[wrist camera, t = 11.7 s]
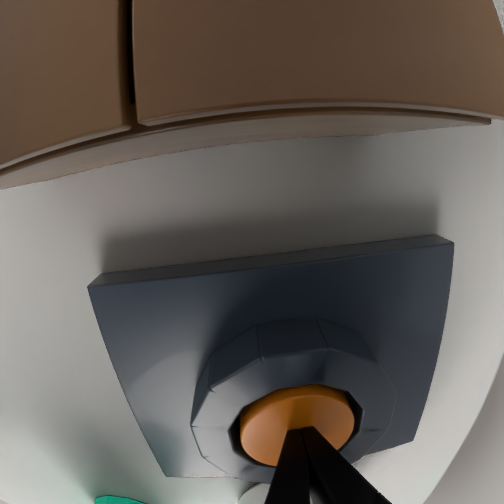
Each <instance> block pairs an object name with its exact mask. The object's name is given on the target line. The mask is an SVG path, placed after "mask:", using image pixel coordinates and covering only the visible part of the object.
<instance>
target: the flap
mask: <svg viewBox="0 0 504 504" xmlns="http://www.w3.org/2000/svg"><path fill="white" fill-rule="evenodd" d="M132 50H133V72H134V88H135V101H136V113H137V121H138V123H140V124H143V125H146V126H153V125H158V124H163V123H169V122H174V121H180V120H186V119H192V118H199V117H206V116H213V115H221V114H229V113H237V112H247V111H257V110H269V109H283V108H301V107H333V106H360V107H392V108H409V109H422V110H433V111H443V112H452V113H460V114H467V115H474V116H481V117H487V118H493V119H498V120H504V34H503V31H502V28H501V24H500V21H499V18H498V15H497V12H496V9H495V6H494V3H493V0H132Z"/></svg>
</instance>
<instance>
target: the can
mask: <svg viewBox="0 0 504 504" xmlns="http://www.w3.org/2000/svg"><path fill="white" fill-rule="evenodd" d="M269 487H270V484H264V483H258V484H256V485H254V486H253V487H251V488H250V489H249V490H248V491H247V492H246V493H245V494H243V495H242V496H241V498H240V499H239V502H238V504H264V502H265V500H266V497H267V494H268V491H269ZM310 504H313V502H312V499H311V496H310Z"/></svg>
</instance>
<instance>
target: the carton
mask: <svg viewBox="0 0 504 504" xmlns="http://www.w3.org/2000/svg"><path fill="white" fill-rule="evenodd" d="M489 124H491V118H487V117H481V116H474V115H467V114H460V113H452V112H443V111H433V110H422V109H409V108H392V107H360V106H333V107H301V108H283V109H269V110H257V111H247V112H237V113H229V114H221V115H213V116H206V117H199V118H192V119H186V120H180V121H174V122H169V123H163V124H158V125H153V126H146V125H143V124H140V123H138V121H137V113H136V101H135V88H134V72H133V50H132V0H0V190H2V189H6V188H11V187H16V186H21V185H26V184H31V183H37V182H42V181H47V180H51V179H54V178H58V177H62V176H66V175H69V174H73V173H77V172H81V171H85V170H89V169H94V168H98V167H102V166H107V165H111V164H116V163H120V162H125V161H130V160H135V159H140V158H145V157H151V156H156V155H162V154H168V153H174V152H180V151H186V150H193V149H199V148H207V147H214V146H222V145H230V144H238V143H248V142H257V141H268V140H280V139H293V138H309V137H329V136H373V135H380V134H387V133H395V132H404V131H413V130H423V129H433V128H445V127H458V126H474V125H489Z"/></svg>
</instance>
